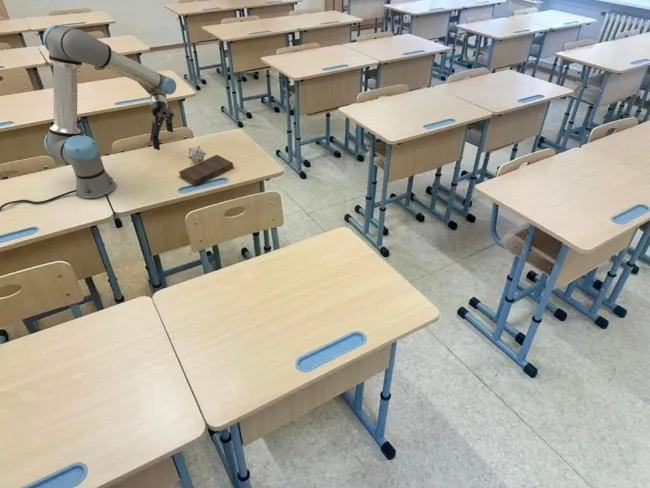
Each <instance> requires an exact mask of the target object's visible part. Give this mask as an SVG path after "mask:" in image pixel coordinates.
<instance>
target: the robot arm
mask: <svg viewBox="0 0 650 488" xmlns="http://www.w3.org/2000/svg"><path fill="white" fill-rule="evenodd" d="M42 42H43V45H44V47H45V48H46V50H47V51H48V60H49V61H50V62H51V64H52V65H53V124H52V125H51V126H50V127H49V131H48V132H47V134H46V135H45V137H44V140H43V141H44V142H43V144H44V148H45V150H46V152H48V153H49V155H51V156H52V157H54V158H55V159H57V160H60V161H62V162H64V163H66V164H69V165H70V166H71V168H72V170H73V172H74V175H75V178H76V179H75V185H76V186H75V189H74V190H71V191H67V192H64V193H62V194H59V195H56V196H53V197H52V198H49V199H45V200H41V201H35V200H30V199H19V200H13V201H12V200H11V201H8V202H6V203H3V204H2V205H1V206H0V211H1V210H2V209H3V208H4V207H6V206H8V205H11V204H16V203H17V204H18V203H23V202H26V203H30V204H44V203H48V202H50V201H53V200H56V199H59V198H60V197H65V196H67V195H70V194H73V193H75V192H76V193H77V195H78V196H79V197H80V198H83V199H97V198H98V199H99V198H102V197H105V196H107V195H109V194H110V193H112V192H113V191H114V189H115V187H116V186H115V182H114V179H113V177H111V176H110V175H109V173H108V172H107V171H106V168H105V166H104V163H103V160H102V156H101V154H100V151H99V149H100V148H99V147H98V145H97V143H96V141H95V140H94V138H93V137H90V136H89V135H82V131H81V129H79V128H78V82H79V81H78V79H79V78H78V77H79V74H78V73H79V72H78V71H79V68H81V67H82V66H83V64H87V65H91V66H94V67H97V68H99V69H108V70H110V71H112V72H114V73H117V74H119V75H120V76H124V77H126V78H128V79H131V80H133V81H135V82H137V83H138V84H139V86H141V87H142V88H143V90H145V91H146V92H147V93H148V95H149V97H150V98H149V99H150V108H151V113H152V115H153V116H154V121H153V120H152V121H151V131H150V137H149V140H150V141H151V142H152V146H153V149H154V150H157V151H160V150H161V148H160V138H159V135H160V131H161V128H162V127H163V123H164V121H165V128H166V131H167V132H170V133H173V132H174V127H173V118H174V117H175V112H173V111H172V109H171V107H170V105H169V104H168V98H167V95H168V96H169V95H174V93H175V92H176V90H177V82H176V80H175V79H173V78H172V77H169V76H166V75H163V74H162V73H160V72H157V71H156V70H154V69H152V68H150V67H148V66H145V65H144V64H142V63H140V62H138V61H135V60H134V59H132V58H129V57H127V56H125V55H124V54H121V53H119V52H117V51H116V50H113V49H112V47H111V46H110V45H109V44H107V43H105V42H103V41H101V40H99V39H98V38H96V37H95V36H93V35H91V34H89V33H87V32H85V31H84V30H80V29H77V28H73V27H70V26H68V25H64V24H53V25H50V26H48V27H47V28H46V29H45V31H44V32H43V35H42Z"/></svg>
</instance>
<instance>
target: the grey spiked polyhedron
mask: <svg viewBox="0 0 650 488" xmlns="http://www.w3.org/2000/svg"><path fill="white" fill-rule="evenodd" d="M188 150H189V151H188V156H186V158H188V159H189V160H190V161H191V162H192V163H193V164H192V165H194V164H196V163H199V162H201V161H203V160H205V159H204V158H205V155H207V153H206V152H204V151H203V149H201V147H200V145H198V146H197V147H193V148H190V147H188Z"/></svg>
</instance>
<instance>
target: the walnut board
mask: <svg viewBox="0 0 650 488" xmlns="http://www.w3.org/2000/svg"><path fill="white" fill-rule="evenodd" d="M193 164H194V163H193ZM193 164H192V165H189V166H188V167H185V168H183V169H181V170H179V171H178V175H179V178H181V179H183V180H184V181H186V182H188V183H189V184H191V185H192V186H194V187H197V186H199V185H201V184H203V183H205V182H207V181H210V180H212V179H214V178H217V177H219V176H220V175H222V174H224V173H227V172H228V171H230V170H233V169H234V163H233V162H232V161H230V160H229V159H227V158H224V157H223V156H221V155H219V154H215V155H212V156H210V157H208V158H205V159H203V161H201V162H199V163H195V164H194V165H193Z"/></svg>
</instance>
